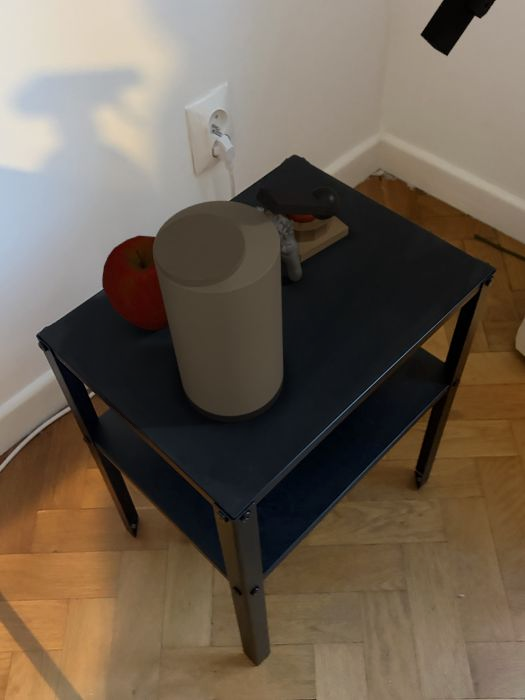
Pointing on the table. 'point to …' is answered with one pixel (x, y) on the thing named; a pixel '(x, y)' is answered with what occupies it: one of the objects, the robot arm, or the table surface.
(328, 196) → the switch
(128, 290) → the apple
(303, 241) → the button base
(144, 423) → the table surface
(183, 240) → the beige cylinder
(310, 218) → the button
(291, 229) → the grey toy figure
